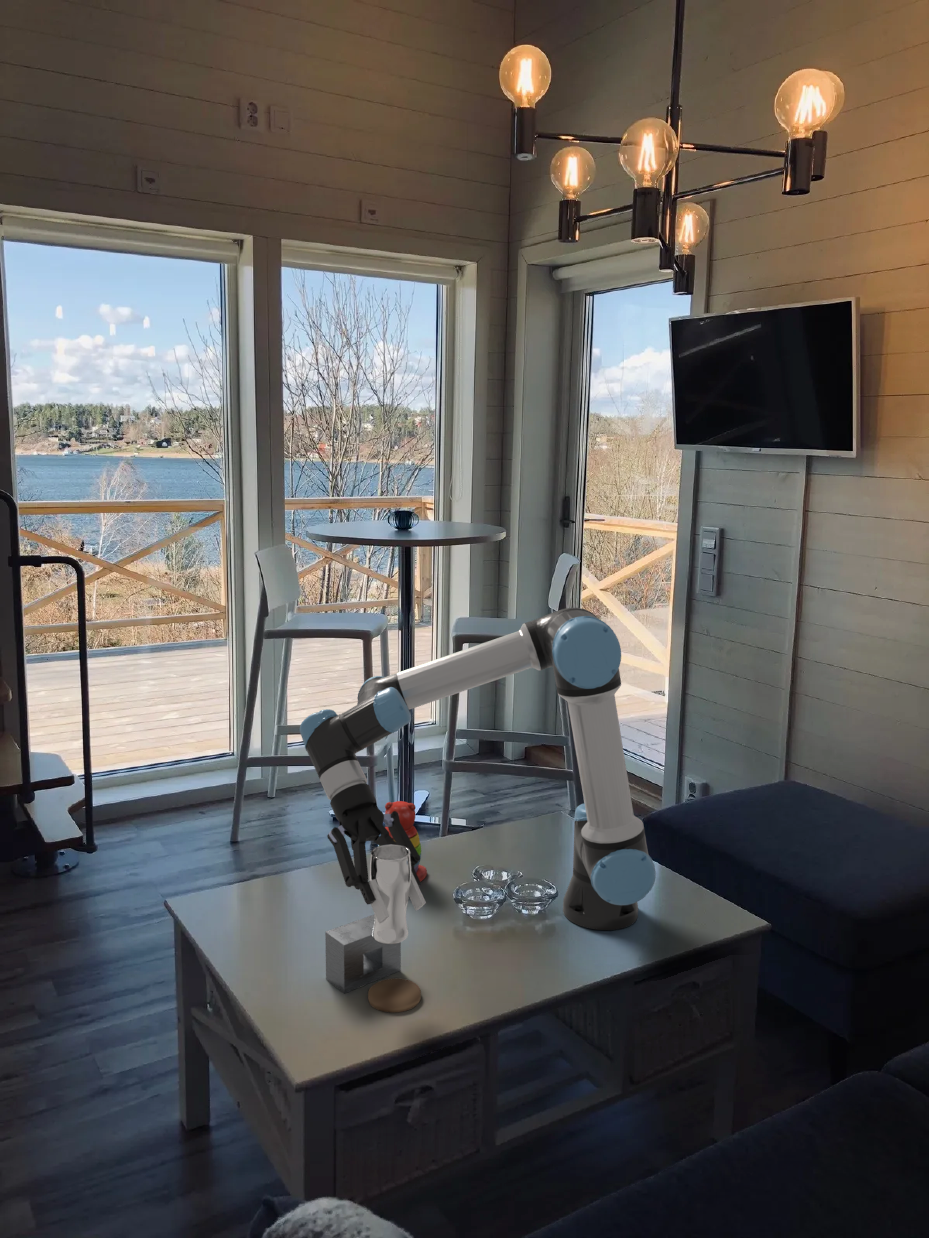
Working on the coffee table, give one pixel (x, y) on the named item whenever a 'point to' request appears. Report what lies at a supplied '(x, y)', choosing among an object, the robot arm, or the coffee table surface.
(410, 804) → the stacking bear
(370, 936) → the grey block with hole
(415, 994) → the walnut coaster
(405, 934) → the beer glass
